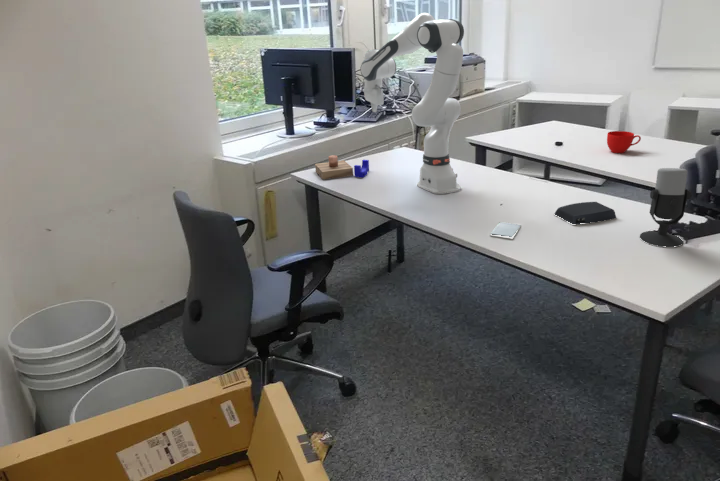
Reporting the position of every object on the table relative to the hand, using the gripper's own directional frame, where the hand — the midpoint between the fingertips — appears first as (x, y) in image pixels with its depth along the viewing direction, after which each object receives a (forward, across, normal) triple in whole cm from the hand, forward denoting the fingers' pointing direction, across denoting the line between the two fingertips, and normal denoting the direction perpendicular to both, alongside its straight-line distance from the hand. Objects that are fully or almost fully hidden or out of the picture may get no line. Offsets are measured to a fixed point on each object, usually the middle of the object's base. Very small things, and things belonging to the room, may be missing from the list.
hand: (374, 111), depth 260 cm
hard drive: (+30, -102, -15) cm, 108 cm away
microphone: (+29, -129, -59) cm, 145 cm away
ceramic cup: (+29, -32, -131) cm, 138 cm away
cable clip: (+30, -10, +10) cm, 33 cm away
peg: (+29, -2, +24) cm, 37 cm away
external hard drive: (+30, -101, -50) cm, 117 cm away
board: (+29, -2, +24) cm, 38 cm away
